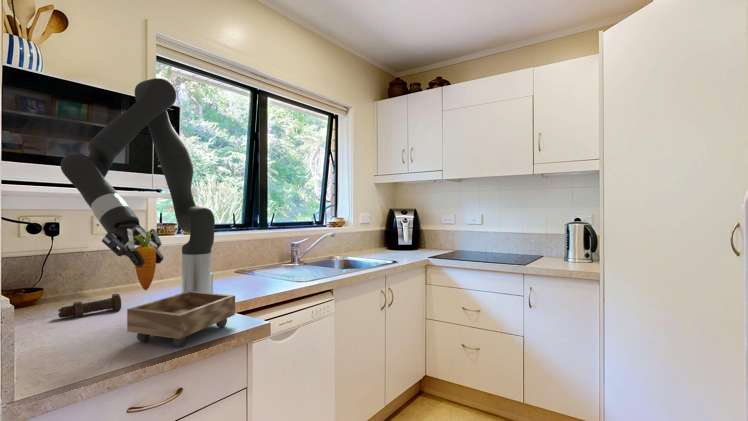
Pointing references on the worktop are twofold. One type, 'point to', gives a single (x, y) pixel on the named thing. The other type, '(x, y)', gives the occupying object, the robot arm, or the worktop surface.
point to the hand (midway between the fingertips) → (151, 262)
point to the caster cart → (180, 315)
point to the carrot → (146, 261)
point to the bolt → (91, 307)
